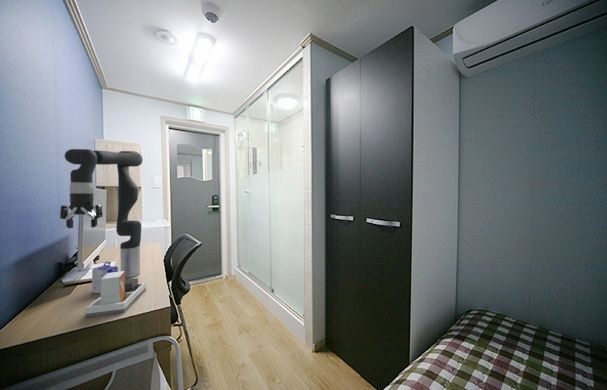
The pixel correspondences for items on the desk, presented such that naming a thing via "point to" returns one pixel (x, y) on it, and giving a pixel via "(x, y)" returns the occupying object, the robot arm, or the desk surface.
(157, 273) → the desk surface
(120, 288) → the small box
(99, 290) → the ink cartridge box
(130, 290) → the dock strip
